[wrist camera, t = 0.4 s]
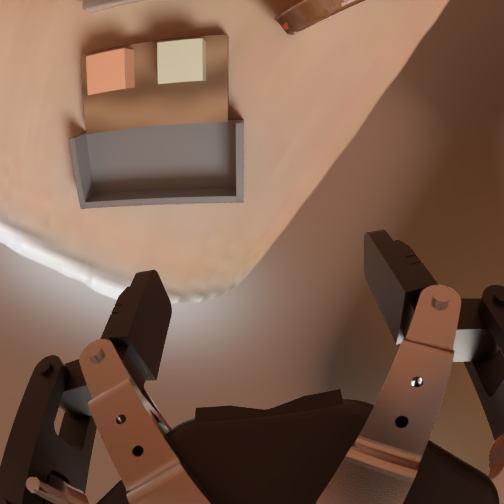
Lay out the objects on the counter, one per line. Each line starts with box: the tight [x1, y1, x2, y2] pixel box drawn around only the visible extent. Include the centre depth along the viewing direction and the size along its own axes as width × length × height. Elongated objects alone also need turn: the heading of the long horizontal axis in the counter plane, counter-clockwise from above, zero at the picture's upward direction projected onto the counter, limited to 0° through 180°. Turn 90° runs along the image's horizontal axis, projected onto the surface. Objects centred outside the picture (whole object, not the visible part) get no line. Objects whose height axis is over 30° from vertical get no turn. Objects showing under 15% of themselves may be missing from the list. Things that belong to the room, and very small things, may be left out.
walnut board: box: [81, 35, 229, 135], centre depth 30 cm, size 10×17×2 cm, turn 90°
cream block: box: [157, 38, 206, 84], centre depth 27 cm, size 4×4×3 cm
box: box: [69, 120, 244, 209], centre depth 34 cm, size 9×20×4 cm, turn 90°
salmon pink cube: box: [86, 48, 135, 95], centre depth 27 cm, size 4×4×3 cm
